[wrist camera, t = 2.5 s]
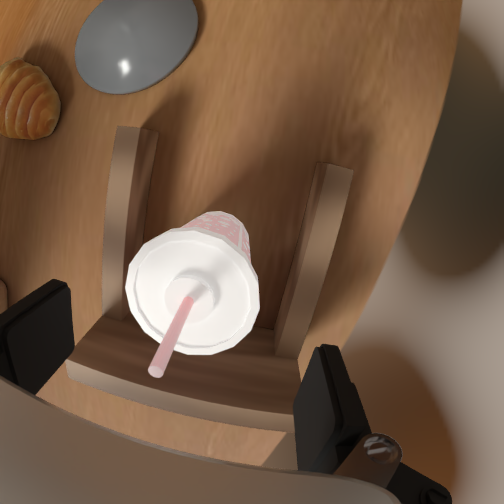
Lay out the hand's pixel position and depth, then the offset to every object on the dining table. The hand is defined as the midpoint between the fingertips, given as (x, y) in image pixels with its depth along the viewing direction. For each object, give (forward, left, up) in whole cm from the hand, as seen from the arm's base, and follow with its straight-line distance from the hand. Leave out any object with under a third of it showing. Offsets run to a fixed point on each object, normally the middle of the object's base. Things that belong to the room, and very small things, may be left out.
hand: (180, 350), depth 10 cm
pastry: (-10, -20, -13) cm, 25 cm away
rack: (0, 0, -12) cm, 12 cm away
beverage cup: (0, 0, -12) cm, 12 cm away
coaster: (-15, -10, -12) cm, 22 cm away
